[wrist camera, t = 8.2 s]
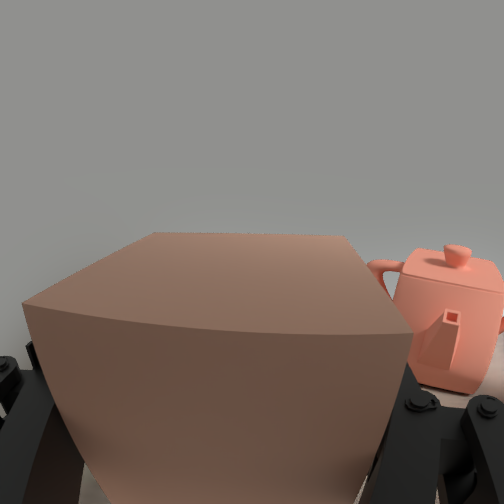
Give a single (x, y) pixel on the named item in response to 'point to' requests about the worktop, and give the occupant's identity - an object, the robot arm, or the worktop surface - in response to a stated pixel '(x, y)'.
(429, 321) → the teapot
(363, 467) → the block
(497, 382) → the worktop surface
